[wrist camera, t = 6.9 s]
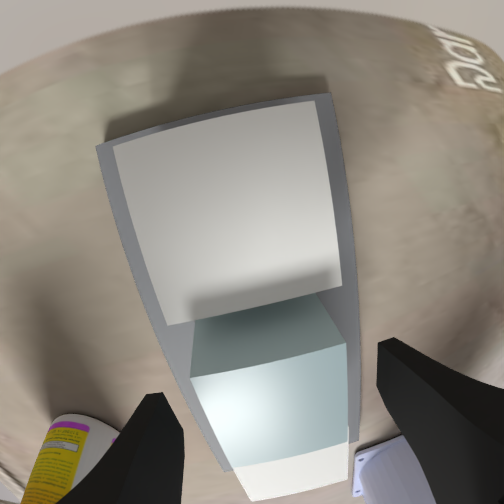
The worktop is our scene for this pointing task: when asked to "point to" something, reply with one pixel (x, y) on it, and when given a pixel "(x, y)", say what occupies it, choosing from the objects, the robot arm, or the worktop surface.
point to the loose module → (272, 380)
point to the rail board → (241, 243)
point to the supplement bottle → (67, 457)
